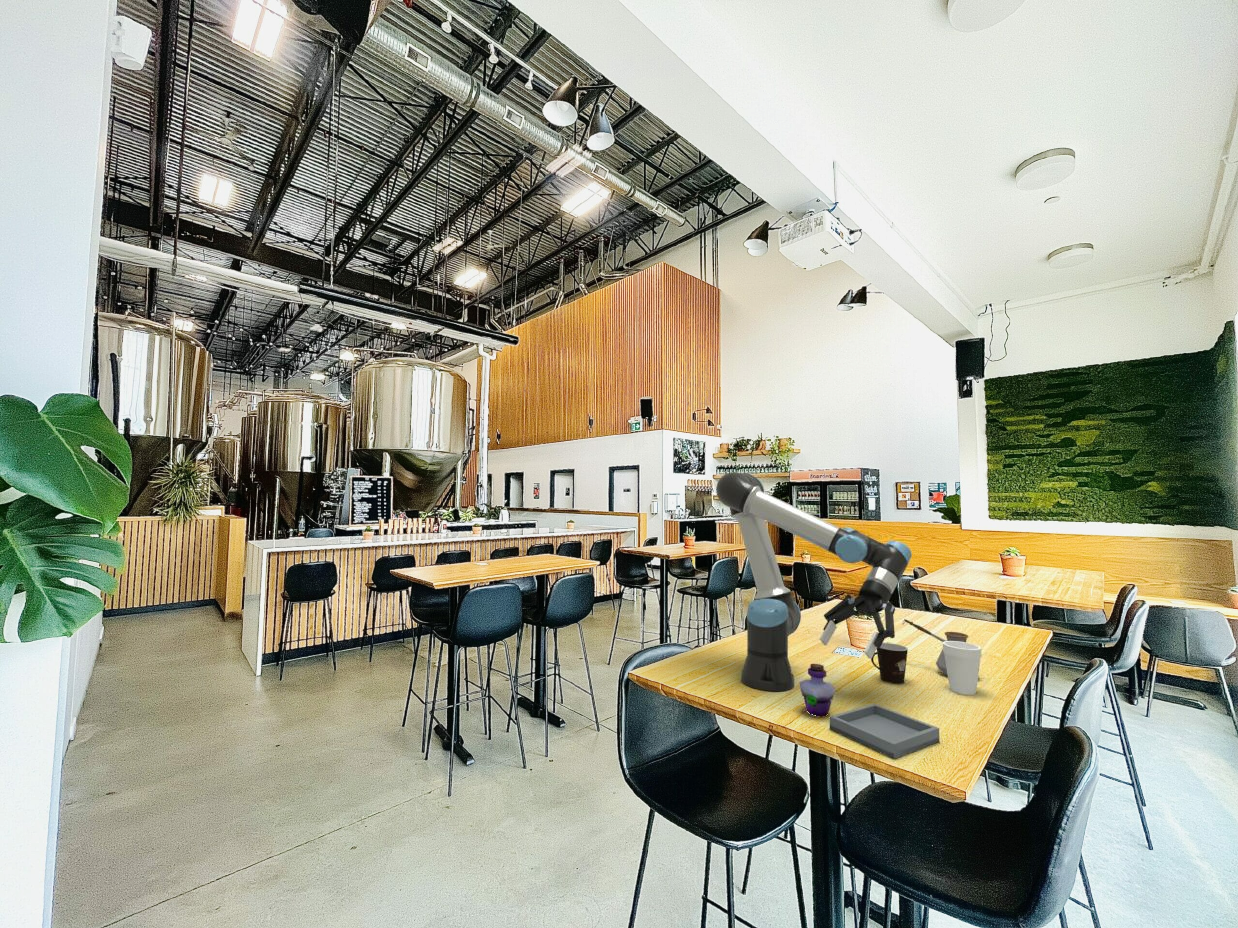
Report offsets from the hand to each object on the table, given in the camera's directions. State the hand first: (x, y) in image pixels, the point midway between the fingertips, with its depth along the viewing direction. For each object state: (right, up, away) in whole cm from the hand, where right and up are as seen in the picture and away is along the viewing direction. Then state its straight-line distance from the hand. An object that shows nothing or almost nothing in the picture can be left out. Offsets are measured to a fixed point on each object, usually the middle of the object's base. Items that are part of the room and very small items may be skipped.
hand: (844, 648), depth 139 cm
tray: (+1, -13, -19) cm, 23 cm away
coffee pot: (+43, -18, +29) cm, 55 cm away
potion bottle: (-10, -14, -6) cm, 18 cm away
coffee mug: (+22, -17, +20) cm, 34 cm away
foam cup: (+39, -16, +11) cm, 44 cm away
